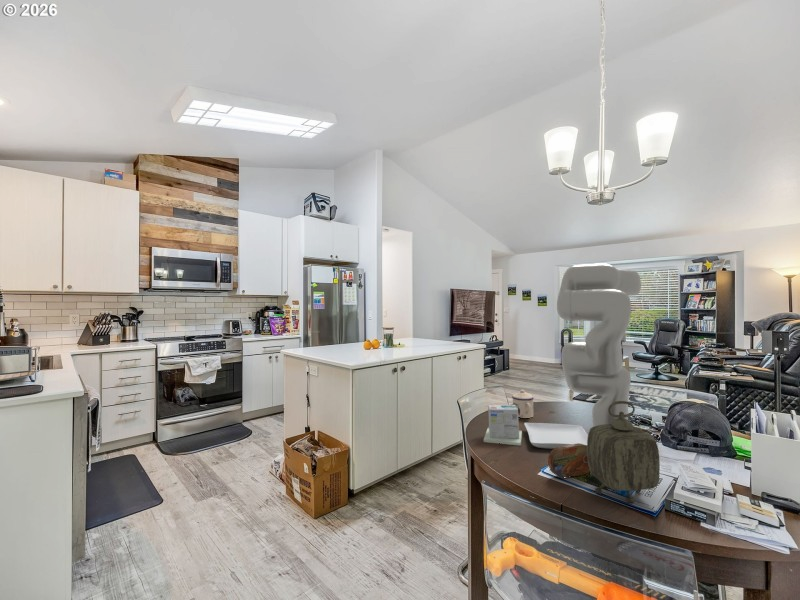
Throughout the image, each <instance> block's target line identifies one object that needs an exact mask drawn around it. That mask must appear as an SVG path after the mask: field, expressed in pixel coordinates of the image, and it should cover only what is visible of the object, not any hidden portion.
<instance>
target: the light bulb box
mask: <svg viewBox="0 0 800 600" xmlns="http://www.w3.org/2000/svg"><path fill="white" fill-rule="evenodd" d="M487 408H488V409H487V411H488V428H489V434H490V438H519V431H520V430H519V429H520V426H519V424H520V423H519V420H520V418H518V409H517V407H516V405H513V404H488V405H487Z"/></svg>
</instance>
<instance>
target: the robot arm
mask: <svg viewBox="0 0 800 600" xmlns="http://www.w3.org/2000/svg"><path fill="white" fill-rule="evenodd" d="M641 287H642V281H641V277H640V274H639V272H638V271H636V270H630V269H629V270H628V269H622V268H621V269H620V268H616V267H615V266H613V265H611V264H609V263H593V264H592V263H591V264H577V265H572V266H570V267H568V268H567V269H566V270H565V272H564V273H563V277H562V279H561V284H560V288H559V292H558V296H557V301H556V309H557V310H556V311H557V313H558V316H559V317H560V318H561V319H563V320H565V321H570V322H571V321H574V322H576V321H577V322H580V321H582V322H599V323H597V324H596V325H595V326H593V327H592V328H591V329H590V331H589V332H588V333H587V334H586V336H585V339H584V341H569V342H567V343H566V344H564V346H563V347H562V350H561V355H560V356H561V357H560V362H561V367H562V371H563V373H564V378H565V381H566V385H567V387H568V389H569V391H572V392H573V393H578V394H587V395H594V396H595V395H596V396H601V397H600V398H599V399H598V400H597V401H596V402H595V403H594V405H593V407H592V410H591V411H592V413H591V414H592V415H591V416H592V427H594V426H597V425H605V424H612V421H613V420H614V419H616V418H617V417H614V416H612V415H610V414H609V412H608V408H609V406H610V405H611V404H612V403H614V402H617V401H627V402H629V397H630V390H631V383H632V382H631V374H630V372H629V370H628V369H627V368H625V367H624V366H623V365H624V363H623V361H624V346H623V343H625V342H626V341H627V337H626V332H627V329H628V326H629V323H630V319H631V311H632V310H631V309H632V303H631V299H630V296H637V295H639V293H640V291H641ZM610 412H611V413H612V414H615V415H619V412H623V413H624V415H626V414H629V405H628V404H616V405H614V406H612V407H611V409H610ZM624 419H627V420H629V417H625V418H624Z"/></svg>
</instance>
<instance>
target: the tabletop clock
mask: <svg viewBox="0 0 800 600" xmlns="http://www.w3.org/2000/svg"><path fill="white" fill-rule="evenodd" d="M616 404H628V406H630V407H631V408H632V411H631V412H630V413H629V412H628V414H626V415H624V413H623V412H619V415H615V414H612V413H611V412H610V409H611V407H612V406H614V405H616ZM635 411H636V409H635V406H634V404H632V403H631V402H630V401H628V402H627V401H617V402H614V403H612V404H611V405H610V406H609V408H608V412H609V414H610V415H612V416H614V417H617V418H616V419H614V420H613V421H612V424H605V425H597V426H594V427H593V426H592V427H590V428H589V430H588V432H587V434H588V439H587V458H588V465H589V469H590V472H589V473H590V474H591V475H592V476H593V477H594V478H595V479H597V480H598V481H599V482H600V483H601V484H600V487H595V489H594V491H595V493H596V494H598V495H601V494H602V493H603V488H604V487H606V488H607V489H610V490H614V491H626V494H627V496H626V498H625V500H626V502H627V503H629V504H633V503H634V501H635V500H634V498H633V497H632V496H631V491H635V492H637V493H641V492H642V490H643V491H644V490H651V489H654V488H656V487H658V484H659V482H660V468H661V467H660V464H661V463H660V462H661V461H660V453H659V452H660V451H659V447H658V444H657V441H656V438H655V437H654V435H652V434H650V433H648V432H645V431H644V430H643V429H639V428H638V427H635V426H634V425H633V424H632V422H631V421H630V420H629V419H628V420H627V419H624V418H625V417H628V418H629V417H631V416H632V415H633V414H634V413H635Z"/></svg>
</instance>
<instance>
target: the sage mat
mask: <svg viewBox="0 0 800 600" xmlns="http://www.w3.org/2000/svg"><path fill="white" fill-rule="evenodd" d="M522 436H523V431H522V430H519V438H490V434H489V427H487V429H486V432H485V433H484V437H483V443H490V444H499V443H500V444H501V445H509V446H510V445H511V446H512V445H513V446H521V445H522V438H523V437H522ZM500 444H499V445H500Z"/></svg>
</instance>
